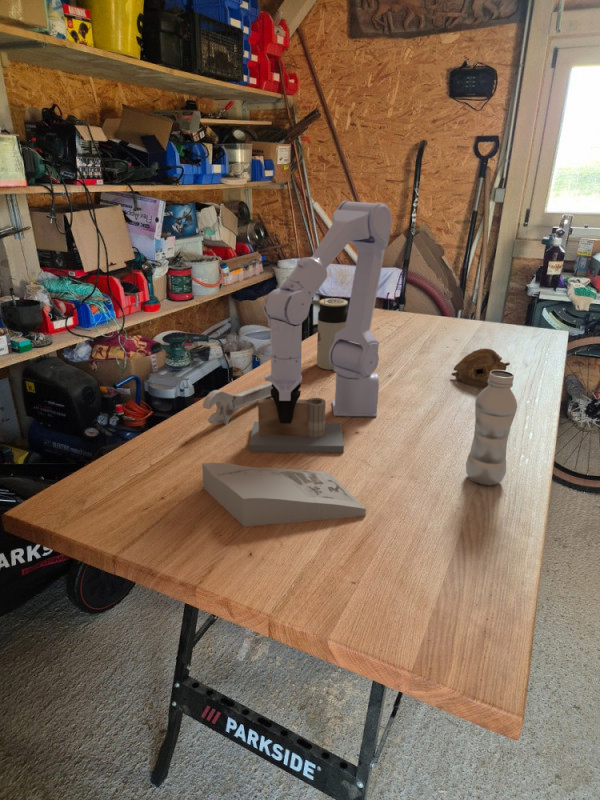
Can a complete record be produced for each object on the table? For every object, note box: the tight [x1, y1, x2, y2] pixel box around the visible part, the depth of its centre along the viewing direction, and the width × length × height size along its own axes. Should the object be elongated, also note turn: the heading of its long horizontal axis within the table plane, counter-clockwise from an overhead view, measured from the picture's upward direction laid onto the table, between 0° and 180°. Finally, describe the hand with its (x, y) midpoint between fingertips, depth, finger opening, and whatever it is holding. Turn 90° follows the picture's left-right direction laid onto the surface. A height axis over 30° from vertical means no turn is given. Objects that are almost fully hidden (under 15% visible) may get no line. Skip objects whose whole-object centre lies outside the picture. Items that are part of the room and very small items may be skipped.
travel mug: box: [316, 297, 349, 371], centre depth 143 cm, size 8×8×18 cm
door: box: [257, 397, 327, 438], centre depth 104 cm, size 13×4×7 cm, turn 90°
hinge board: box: [249, 421, 345, 454], centre depth 105 cm, size 18×10×4 cm, turn 90°
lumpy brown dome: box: [451, 347, 511, 389], centre depth 141 cm, size 10×24×15 cm
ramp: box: [201, 462, 367, 527], centre depth 86 cm, size 28×16×5 cm, turn 77°
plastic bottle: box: [465, 370, 518, 486], centre depth 89 cm, size 6×7×20 cm
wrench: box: [202, 381, 273, 425], centre depth 119 cm, size 8×2×30 cm
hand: (285, 419), depth 104 cm, fingers closed on door, 2 cm apart
